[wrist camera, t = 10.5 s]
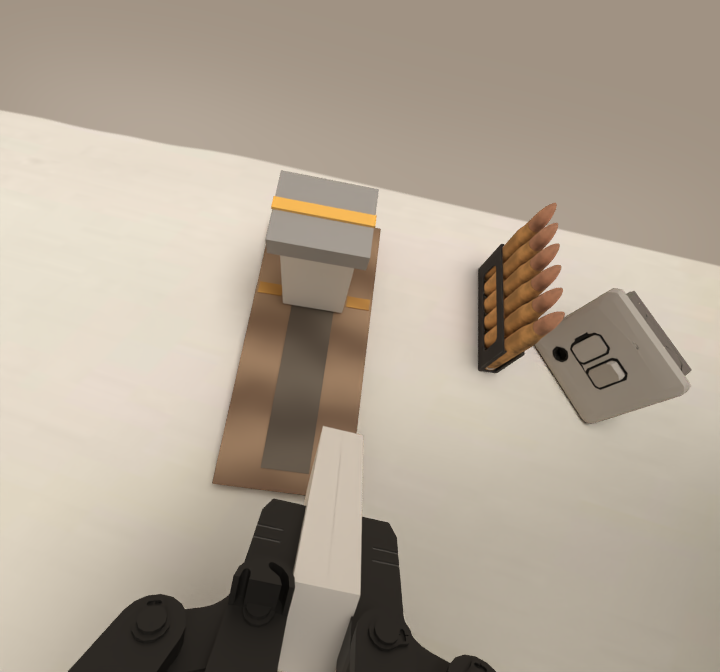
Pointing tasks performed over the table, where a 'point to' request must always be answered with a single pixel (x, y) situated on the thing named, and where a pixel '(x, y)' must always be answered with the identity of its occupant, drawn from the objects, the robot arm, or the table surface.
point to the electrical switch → (614, 358)
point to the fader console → (294, 382)
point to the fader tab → (320, 237)
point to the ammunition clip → (517, 294)
